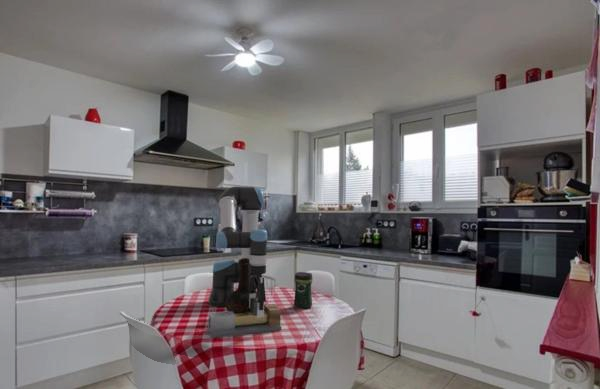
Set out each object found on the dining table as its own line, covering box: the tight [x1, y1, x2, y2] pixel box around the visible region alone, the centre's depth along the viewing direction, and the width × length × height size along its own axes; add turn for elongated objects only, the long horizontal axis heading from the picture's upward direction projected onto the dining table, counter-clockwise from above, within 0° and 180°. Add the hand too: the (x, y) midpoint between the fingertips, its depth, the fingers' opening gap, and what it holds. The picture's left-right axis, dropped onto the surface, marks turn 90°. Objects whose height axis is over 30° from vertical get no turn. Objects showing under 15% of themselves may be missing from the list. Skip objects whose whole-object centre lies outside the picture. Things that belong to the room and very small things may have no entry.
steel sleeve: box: [207, 310, 235, 332], centre depth 145 cm, size 6×10×6 cm, turn 113°
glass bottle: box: [225, 258, 258, 314], centre depth 167 cm, size 18×18×28 cm
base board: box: [206, 323, 282, 339], centre depth 148 cm, size 12×30×2 cm, turn 113°
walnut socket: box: [264, 303, 282, 327], centre depth 153 cm, size 9×5×7 cm, turn 23°
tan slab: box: [235, 298, 268, 326], centre depth 150 cm, size 6×21×10 cm, turn 113°
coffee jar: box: [293, 271, 313, 309], centre depth 185 cm, size 10×8×19 cm
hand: (256, 312), depth 151 cm, fingers open, 13 cm apart
